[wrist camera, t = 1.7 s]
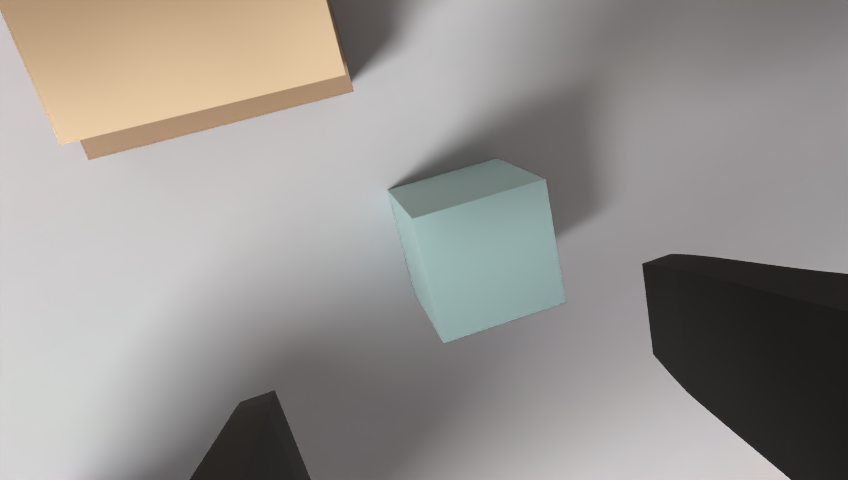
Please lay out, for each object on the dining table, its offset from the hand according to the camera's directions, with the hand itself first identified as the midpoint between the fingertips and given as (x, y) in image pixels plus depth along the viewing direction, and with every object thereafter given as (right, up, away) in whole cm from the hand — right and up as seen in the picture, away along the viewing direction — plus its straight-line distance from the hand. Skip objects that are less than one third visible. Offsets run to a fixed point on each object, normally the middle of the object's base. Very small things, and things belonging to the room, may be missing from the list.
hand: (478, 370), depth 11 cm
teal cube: (0, +3, +10) cm, 10 cm away
